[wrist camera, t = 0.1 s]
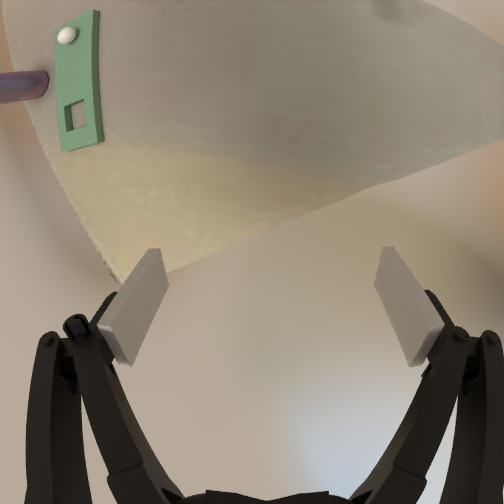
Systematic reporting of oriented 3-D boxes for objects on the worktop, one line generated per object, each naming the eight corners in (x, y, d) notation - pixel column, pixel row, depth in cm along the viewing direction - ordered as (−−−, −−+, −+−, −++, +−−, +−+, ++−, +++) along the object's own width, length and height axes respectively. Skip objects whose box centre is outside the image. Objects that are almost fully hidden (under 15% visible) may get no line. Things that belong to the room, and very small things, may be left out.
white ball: (66, 32, 25) (54, 30, 22) (80, 24, 25) (68, 22, 22) (65, 47, 27) (53, 46, 24) (79, 40, 27) (67, 38, 24)
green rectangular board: (62, 30, 26) (56, 28, 24) (99, 11, 25) (93, 9, 24) (68, 150, 39) (61, 152, 37) (104, 140, 38) (97, 142, 36)
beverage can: (50, 67, 30) (-6, 70, 17) (48, 95, 33) (-9, 105, 20) (32, 74, 30) (-21, 80, 17) (30, 100, 33) (-24, 112, 20)
